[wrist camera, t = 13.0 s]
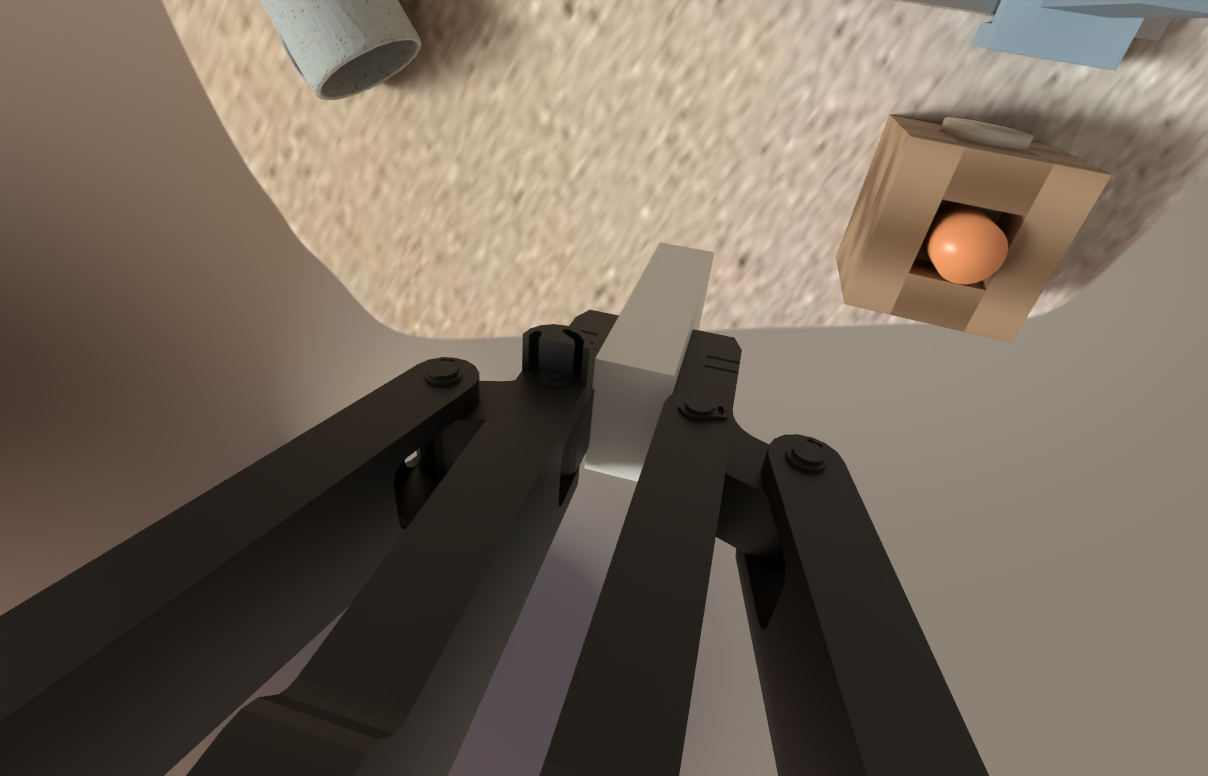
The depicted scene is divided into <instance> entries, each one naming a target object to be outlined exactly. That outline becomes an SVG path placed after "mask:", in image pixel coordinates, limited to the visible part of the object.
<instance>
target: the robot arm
mask: <svg viewBox="0 0 1208 776" xmlns="http://www.w3.org/2000/svg"><path fill="white" fill-rule="evenodd" d="M713 256H714V252H709V251H704V250H698V249H693V248H687V247H682V246H676V245H671V244H665V243H660V244H659V246H658V247H657V249H656V251H655V253H654V255H653V256H652V258H651V260H650V262H649V263H648V265H647V267H646V269H645V271H644V272H643V274H642V276H641V278H640V280H639V281H638V283H637V285H636V287H635V288H634V290H633V292H632V294H631V296H630V297H629V299H628V301H627V303H626V304H625V306H624V308H623V310H622V312H621V313H620V315H619V316H618V315H613V314H609V313H604V312H599V311H594V310H588V311H587V312H585V313H583V314H581V315H579V316H577V317H575V319H574V320H573V322H572V323H571V324H570V326H565V325H556V324H550V325H540V326H537V327H534V328H531V329H529V330H528V331H526V332H525V333H524V334H523V356H522V358H523V359H522V372H521V373H520V374H519V376H518V377H517V378H516V380H513V381H479V372H478V370H477V368H476V367H475V366H474V365H473V364H471V363H469V362H468V361H466V360H461V359H458V358H451V357H450V358H448V357H441V358H436V359H430V360H427V361H424V362H422V363H420V364H418V365H416V366H414V367H413V368H411V369H409V370H408V371H406V372H404V373H403V374H401V375H399V376H398V377H396V378H394V379H393V380H391V381H389V382H388V383H386V384H384V385H383V386H381V387H379V388H378V389H376V390H374V391H373V392H371V393H369V394H368V395H366V396H365V397H363V398H361V399H359V400H358V401H356V402H355V403H353V404H351V405H349V406H348V407H346V408H344V409H343V410H341V411H340V412H338V413H336V414H335V415H333V416H331V417H330V418H328V419H326V420H325V421H323V422H321V423H320V424H318V425H316V426H315V427H313V428H311V429H310V430H308V431H306V432H305V433H303V434H301V435H300V436H298V437H296V438H295V439H293V440H292V441H290V442H288V443H287V444H285V445H283V446H281V447H280V448H278V449H276V450H275V451H274V452H272V453H270V454H268V455H267V456H265V457H263V458H262V459H260V460H258V461H257V462H255V463H253V464H252V465H250V466H248V467H247V468H245V469H243V470H242V471H240V472H238V473H237V474H235V475H233V476H232V477H230V478H228V479H227V480H225V481H223V482H222V483H220V484H219V485H217V486H215V487H213V488H212V489H210V490H209V491H207V492H205V493H203V494H202V495H200V496H198V497H197V498H195V499H193V500H192V501H190V502H189V503H187V504H185V505H184V506H182V507H180V508H179V509H177V510H175V511H174V512H172V513H170V514H169V515H167V516H165V517H164V518H162V519H160V520H159V521H157V522H155V523H154V524H152V525H150V526H149V527H147V528H145V529H144V530H142V531H140V532H139V533H137V534H135V535H134V536H132V537H130V538H129V539H127V540H125V541H124V542H122V543H121V544H119V545H117V546H116V547H114V548H112V549H111V550H109V551H107V552H106V553H104V554H102V555H101V556H99V557H97V558H96V559H94V560H92V561H91V562H89V563H87V564H86V565H84V566H82V567H81V568H79V569H77V570H76V571H74V572H72V573H71V574H69V575H67V576H66V577H64V578H62V579H61V580H59V581H58V582H56V583H54V584H52V585H51V586H49V587H47V588H46V589H44V590H43V591H41V592H39V593H38V594H36V595H34V596H33V597H31V598H29V599H28V600H26V601H24V602H23V603H21V604H19V605H18V606H16V607H14V608H13V609H11V610H9V611H8V612H6V613H5V614H3V615H1V616H0V776H164V775H165V774H166V773H167V772H168V771H169V770H171V769H172V768H173V767H174V766H175V765H176V764H177V763H178V762H179V761H180V760H181V759H183V758H184V757H185V756H186V755H187V754H188V753H189V752H190V751H191V750H192V749H193V748H194V747H196V746H197V745H198V744H199V743H200V742H201V741H202V740H203V739H204V738H205V737H206V736H207V735H209V734H210V733H211V732H212V731H213V730H214V729H215V728H216V727H217V726H219V725H220V724H221V723H222V722H223V721H224V720H225V719H226V718H227V717H228V716H229V715H231V714H232V713H233V712H234V711H235V710H236V709H237V708H238V707H239V706H240V705H241V704H243V703H244V702H245V701H246V700H247V699H248V698H249V697H250V696H251V695H252V694H253V693H254V692H256V691H257V690H258V689H259V688H260V687H261V686H262V685H263V684H264V683H265V682H267V681H268V680H269V679H270V678H271V677H272V676H273V675H274V674H275V673H276V672H277V671H278V670H280V669H281V668H282V667H283V666H284V665H285V664H286V663H287V662H288V661H289V660H291V659H292V658H293V657H294V656H295V655H296V654H297V653H298V652H299V651H300V650H301V649H303V648H304V647H305V646H306V645H307V644H308V643H309V642H310V641H311V640H312V639H313V638H315V636H317V635H318V634H319V633H320V632H321V631H322V630H323V629H324V628H325V627H326V626H327V625H329V624H330V623H331V622H332V621H333V620H334V619H335V618H336V617H337V616H338V615H340V614H341V613H342V612H343V611H344V610H345V609H346V608H347V607H348V606H349V605H350V604H351V605H350V606H349V607H348V609H347V610H346V611H345V613H344V614H343V616H342V617H341V618H340V620H339V621H338V622H337V624H336V625H335V627H334V628H333V630H332V631H331V632H330V633H329V635H328V636H327V637H326V639H325V640H324V641H323V643H322V644H321V646H320V647H319V648H318V650H317V651H316V652H315V654H314V655H313V657H312V658H311V659H310V661H309V662H308V663H307V665H306V666H305V667H304V669H303V670H302V671H301V673H300V674H299V676H298V677H297V678H296V679H295V680H294V682H293V683H292V684H291V685H290V686H289V687H288V688H287V689H286V690H284V691H283V692H282V693H280V694H277V695H272V696H264V697H258V698H257V699H255V700H254V701H252V702H251V703H249V704H248V705H246V706H245V707H243V708H242V709H241V710H240V711H239V712H238V713H237V714H236V715H235V716H234V717H233V719H231V721H230V722H229V723H228V724H227V725H226V726H225V727H224V728H223V729H222V731H221V732H220V733H219V734H218V736H217V737H216V738H215V740H214V741H213V742H212V743H211V745H210V746H209V747H208V748H207V750H206V751H205V752H204V754H203V755H202V756H201V757H200V759H199V760H198V761H197V763H196V764H195V765H194V766H193V768H192V769H191V770H190V771H189V773H188V774H187V775H186V776H448V774H449V771H450V769H451V767H452V765H453V763H454V761H455V758H456V756H457V754H458V751H459V749H460V747H461V745H462V743H463V740H464V738H465V736H466V734H467V731H468V729H469V727H470V725H471V722H472V720H473V718H474V716H475V713H476V711H477V709H478V707H479V704H480V702H481V700H482V698H483V695H484V693H485V691H486V689H487V687H488V684H489V682H490V680H491V677H492V675H493V673H494V671H495V669H496V666H497V664H498V662H499V660H500V657H501V655H502V653H503V651H504V649H505V646H506V644H507V642H508V640H509V637H510V635H511V632H512V631H513V628H514V626H515V624H516V622H517V619H518V617H519V615H520V613H521V610H522V608H523V606H524V604H525V601H526V599H527V597H528V595H529V593H530V590H531V588H532V586H533V584H534V581H535V579H536V577H537V575H538V572H539V570H540V568H541V565H542V563H543V561H544V559H545V557H546V554H547V552H548V550H549V548H550V545H551V543H552V541H553V539H554V537H555V534H556V532H557V530H558V528H559V525H560V523H561V521H562V518H563V516H564V514H565V512H566V509H567V507H568V505H569V503H570V501H571V498H572V496H573V494H574V492H575V489H576V487H577V485H578V478H579V468H580V464H581V462H582V459H583V457H584V455H585V453H586V460H585V468H586V469H589V470H593V471H597V472H602V473H605V474H609V475H613V476H617V477H621V478H625V479H629V480H633V481H637V486H636V488H635V492H634V494H633V497H632V501H631V503H630V507H629V509H628V512H627V515H626V518H625V521H624V524H623V527H622V530H621V533H620V536H619V539H618V542H617V545H616V549H615V551H614V554H613V557H612V561H611V564H610V566H609V569H608V573H607V575H606V578H605V581H604V585H603V588H602V591H601V594H600V596H599V599H598V602H597V606H596V608H595V611H594V614H593V617H592V621H591V623H590V626H589V629H588V633H587V636H586V638H585V642H584V645H583V647H582V651H581V654H580V656H579V660H578V662H577V665H576V668H575V671H574V674H573V678H572V681H571V683H570V686H569V689H568V693H567V696H566V698H565V702H564V704H563V708H562V710H561V714H560V716H559V719H558V722H557V725H556V728H555V731H554V735H553V737H552V741H551V743H550V746H549V750H548V753H547V755H546V758H545V761H544V764H543V767H542V770H541V773H540V776H679V773H680V766H681V760H682V753H683V747H684V740H685V734H686V726H687V720H688V714H689V708H690V701H691V694H692V688H693V681H694V675H695V668H696V662H697V655H698V648H699V642H700V636H701V629H702V622H703V616H704V610H705V603H706V596H707V590H708V583H709V577H710V570H711V564H712V557H713V551H714V544H715V538H716V537H717V538H719V539H721V540H723V541H724V542H726V543H728V544H730V545H732V546H734V547H735V548H736V562H737V567H738V572H739V577H740V582H741V586H742V592H743V597H744V603H745V608H746V613H747V618H748V623H749V628H750V633H751V638H752V644H753V649H754V653H755V659H756V664H757V669H758V674H759V679H760V685H761V690H762V694H763V700H764V705H765V710H766V715H767V720H768V726H769V731H770V736H771V741H772V746H773V751H774V756H775V761H776V767H777V772H778V776H989V775H988V772H987V770H986V768H985V766H984V764H983V761H982V759H981V757H980V755H979V753H978V751H977V748H976V746H975V744H974V742H973V740H972V738H971V735H970V733H969V731H968V729H967V727H966V725H965V722H964V720H963V718H962V716H961V714H960V712H959V709H958V707H957V705H956V703H955V701H954V699H953V697H952V694H951V692H950V690H949V688H948V686H947V684H946V681H945V679H944V677H943V675H942V673H941V670H940V668H939V666H938V664H937V662H936V660H935V657H934V655H933V653H932V651H931V649H930V647H929V644H928V642H927V640H926V638H925V636H924V634H923V631H922V629H921V627H920V625H919V623H918V621H917V618H916V616H915V614H914V612H913V610H912V607H911V605H910V603H909V601H908V599H907V597H906V594H905V592H904V590H903V588H902V586H901V584H900V581H899V579H898V577H897V575H896V573H895V571H894V568H893V567H892V564H891V562H890V560H889V558H888V556H887V553H886V551H885V549H884V547H883V545H882V542H881V540H880V538H879V536H878V534H877V532H876V530H875V527H874V525H873V523H872V521H871V519H870V516H869V514H868V512H867V510H866V508H865V506H864V503H863V501H862V499H861V497H860V495H859V493H858V490H857V488H856V486H855V484H854V482H853V480H852V477H851V475H850V473H849V471H848V469H847V466H846V464H845V462H844V461H843V459H842V458H841V457H840V455H839V454H838V453H837V452H836V451H835V450H834V449H832V448H831V447H830V446H828V445H827V444H826V443H823V442H821V441H819V440H816V439H814V438H812V437H807V436H802V435H798V434H795V435H783V436H780V437H778V438H775V439H774V440H773V441H772V442H771V443H770V445H769V444H767V443H765V442H763V441H761V440H759V439H757V438H755V437H753V436H751V435H749V434H748V433H747V432H745V431H744V430H743V429H742V428H741V427H740V426H739V425H738V424H737V422H736V421H735V418H734V416H733V404H734V397H735V391H736V384H737V378H738V371H739V364H740V358H741V352H742V350H741V348H740V346H739V345H738V343H737V341H736V340H735V338H733V337H728V336H723V335H718V334H713V333H709V332H704V331H699V325H700V320H701V315H702V310H703V305H704V300H705V296H706V291H707V286H708V281H709V276H710V271H711V266H712V261H713ZM415 451H417V456H416V457H415V458H413V459H412V460H411V461H408V462H406V463H405V461H404V460H405V459H406V458H407V457H408V456H410V455H411V454H412V453H414V452H415Z"/></svg>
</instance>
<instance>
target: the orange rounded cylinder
mask: <svg viewBox="0 0 1208 776" xmlns="http://www.w3.org/2000/svg"><path fill="white" fill-rule="evenodd" d="M923 244H924V248H925V250H926V252H927V253H928V255H929V257H930V259H931V260H932V262H933V264H934V266H935V267H936V269H937V271H938V272H939V274H940V275H941V276H942V277H943V278H945V279H946V280H948V281H950V282H953V283H957V284H972V283H976V282H979V281H982V280H984V279H986V278H988V277H989V276H991V275H992V274H994V273H995V272H996V271H997V270H998V269H999V268H1000V267H1001V265H1002V264H1003V262H1004V261H1005V258H1006V256H1007V252H1008V242H1007V238H1006V236H1005V234H1004V233H1003V232H1002V231H1001V229H1000V228H999V227H998V226H997V225H996V224H995V223H994V222H993V221H992V220H991V219H990V218H989V217H988V216H987V215H986V214H985V213H984V212H983V211H981V210H980V209H978V208H976V207H974V206H970V205H956V206H952V207H949V208H946V209H944V210H942V211H941V212H939V213H938V214H936V215H935V216H934V218H933V220H932V223H931V225H930V227H929V229H928V231H927V234H926V236H925V238H924V240H923Z"/></svg>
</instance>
